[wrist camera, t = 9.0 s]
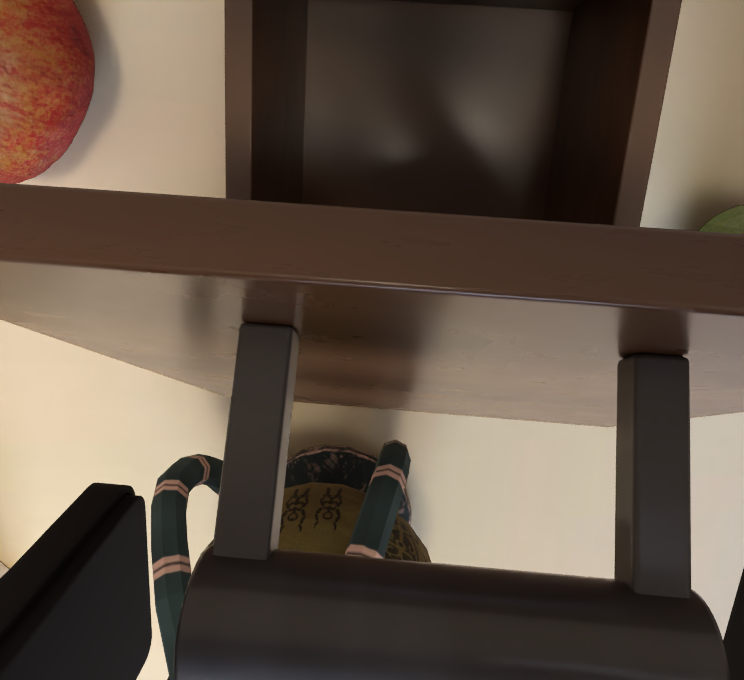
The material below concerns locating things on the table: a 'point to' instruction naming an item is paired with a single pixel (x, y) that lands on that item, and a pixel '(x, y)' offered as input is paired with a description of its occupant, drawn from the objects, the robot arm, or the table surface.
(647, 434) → the lid
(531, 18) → the chest
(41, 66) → the fruit
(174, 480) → the teapot
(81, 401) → the table surface
